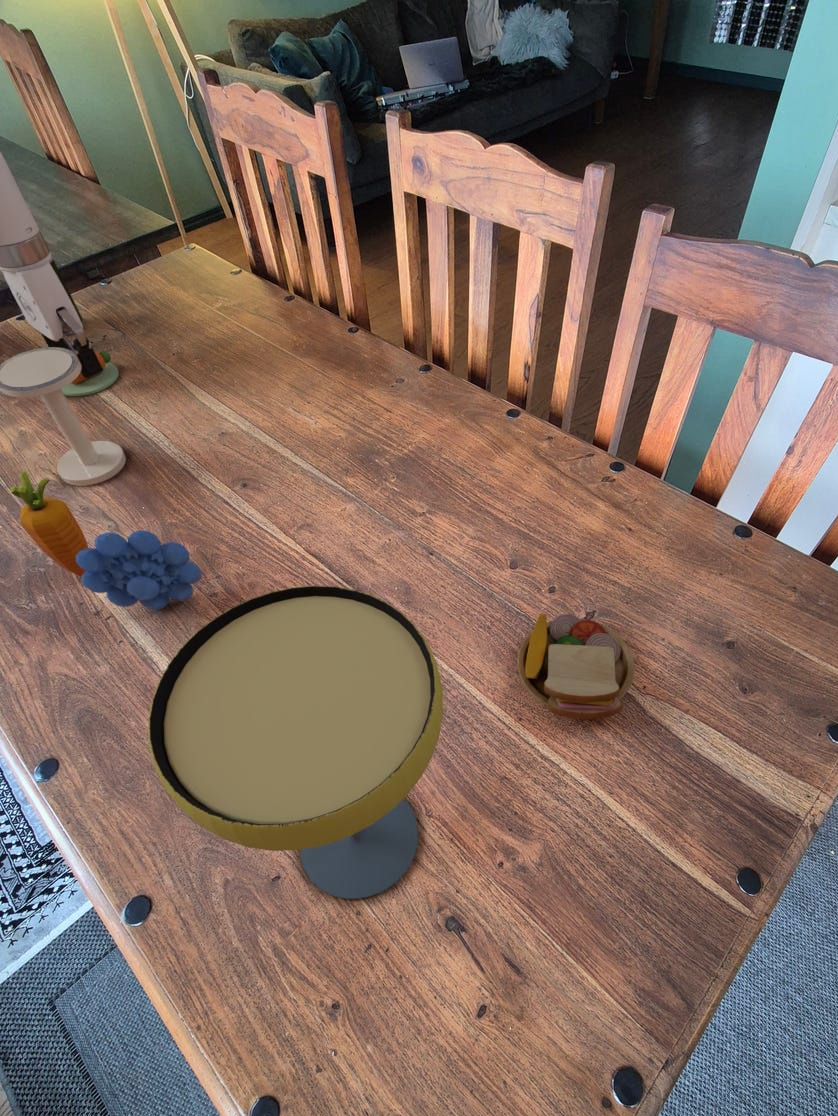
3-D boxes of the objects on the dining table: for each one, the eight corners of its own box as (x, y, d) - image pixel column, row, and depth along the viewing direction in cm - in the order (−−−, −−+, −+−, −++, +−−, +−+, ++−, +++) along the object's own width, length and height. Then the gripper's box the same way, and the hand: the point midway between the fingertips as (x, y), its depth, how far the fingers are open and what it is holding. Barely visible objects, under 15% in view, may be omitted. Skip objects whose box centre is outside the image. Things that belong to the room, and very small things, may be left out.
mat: (43, 381, 109) (41, 378, 108) (99, 356, 113) (98, 353, 113) (73, 403, 104) (71, 401, 104) (130, 377, 109) (128, 374, 108)
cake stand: (43, 468, 95) (-22, 370, 83) (107, 435, 99) (54, 338, 87) (77, 498, 90) (14, 399, 79) (142, 463, 95) (92, 365, 83)
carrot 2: (70, 391, 107) (66, 378, 104) (55, 374, 107) (51, 360, 103) (117, 370, 111) (115, 356, 107) (103, 353, 110) (100, 339, 107)
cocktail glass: (240, 945, 55) (98, 833, 35) (279, 751, 66) (188, 583, 46) (456, 943, 55) (435, 830, 35) (459, 749, 66) (445, 580, 46)
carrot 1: (76, 562, 83) (7, 464, 71) (115, 562, 83) (52, 464, 71) (60, 591, 80) (-16, 494, 68) (100, 592, 80) (31, 495, 68)
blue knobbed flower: (113, 648, 75) (57, 575, 65) (109, 606, 78) (56, 532, 69) (217, 617, 77) (178, 543, 68) (208, 578, 81) (170, 502, 71)
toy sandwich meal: (637, 634, 75) (644, 607, 71) (626, 737, 67) (634, 712, 63) (528, 616, 76) (530, 588, 73) (504, 714, 68) (505, 689, 65)
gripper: (-35, 241, 95) (31, 354, 108) (20, 276, 88) (83, 393, 101) (16, 224, 98) (74, 336, 112) (73, 257, 91) (127, 372, 105)
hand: (78, 363), depth 107 cm, fingers open, 9 cm apart
